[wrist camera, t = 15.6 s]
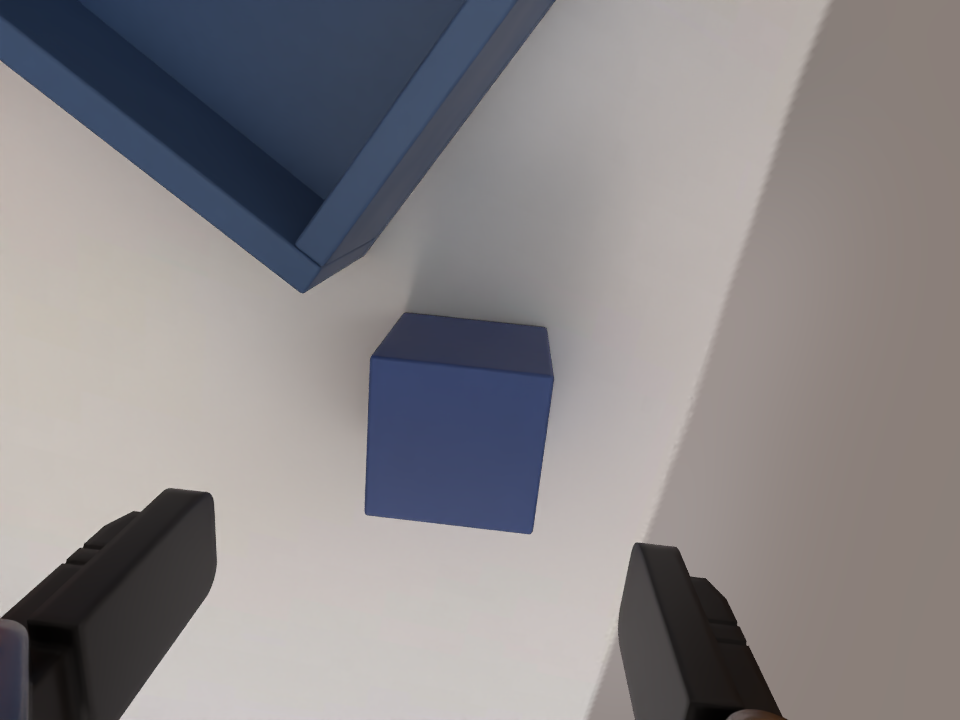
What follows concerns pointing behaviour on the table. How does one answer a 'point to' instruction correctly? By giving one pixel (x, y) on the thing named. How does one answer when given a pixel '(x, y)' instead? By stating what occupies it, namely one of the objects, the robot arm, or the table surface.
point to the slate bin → (273, 103)
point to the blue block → (458, 422)
